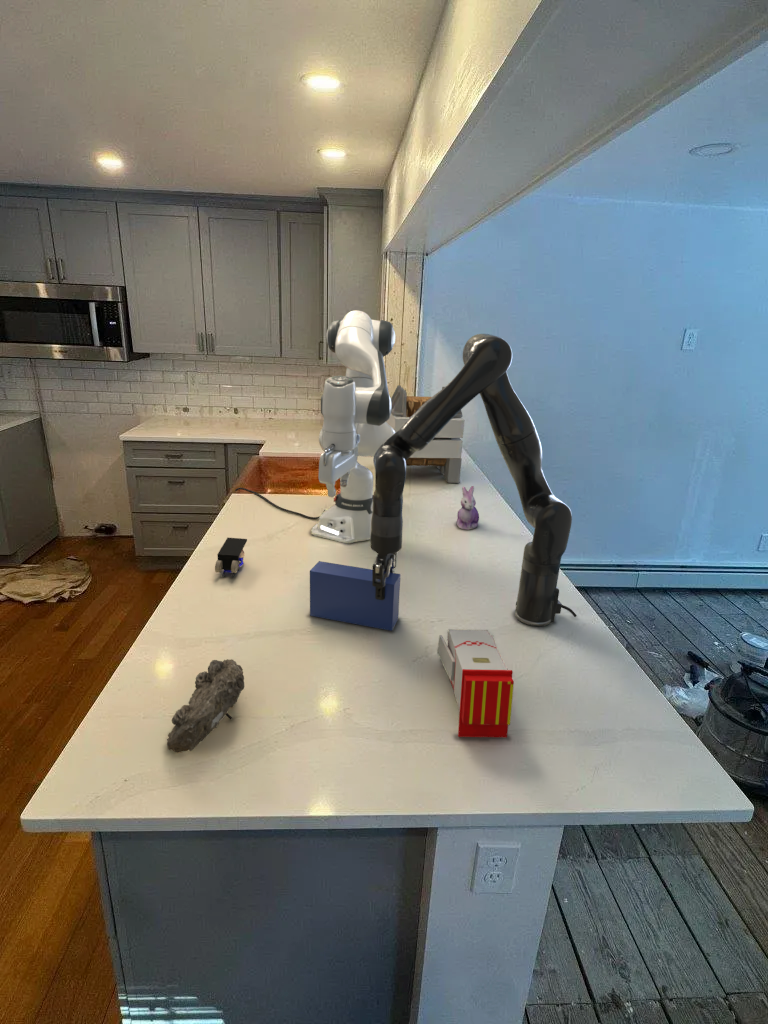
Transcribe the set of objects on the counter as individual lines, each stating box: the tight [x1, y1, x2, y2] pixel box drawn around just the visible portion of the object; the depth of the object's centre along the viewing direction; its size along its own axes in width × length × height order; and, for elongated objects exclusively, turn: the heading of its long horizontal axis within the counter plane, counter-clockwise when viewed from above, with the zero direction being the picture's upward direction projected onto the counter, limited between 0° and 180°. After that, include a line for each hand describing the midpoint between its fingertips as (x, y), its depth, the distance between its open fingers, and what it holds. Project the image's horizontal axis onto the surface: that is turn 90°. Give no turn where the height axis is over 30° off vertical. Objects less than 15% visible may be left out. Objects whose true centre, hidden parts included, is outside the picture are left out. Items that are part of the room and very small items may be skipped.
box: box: [309, 560, 402, 632], centre depth 143 cm, size 22×6×13 cm, turn 74°
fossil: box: [166, 658, 245, 754], centre depth 106 cm, size 22×10×15 cm
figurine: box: [456, 485, 480, 530], centre depth 208 cm, size 9×10×15 cm
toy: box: [437, 628, 515, 738], centre depth 117 cm, size 12×13×30 cm
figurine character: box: [214, 537, 248, 578], centre depth 166 cm, size 7×8×15 cm
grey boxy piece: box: [386, 384, 465, 484], centre depth 268 cm, size 34×33×41 cm
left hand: (338, 491), depth 153 cm, fingers open, 8 cm apart
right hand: (383, 592), depth 140 cm, fingers closed on box, 6 cm apart
